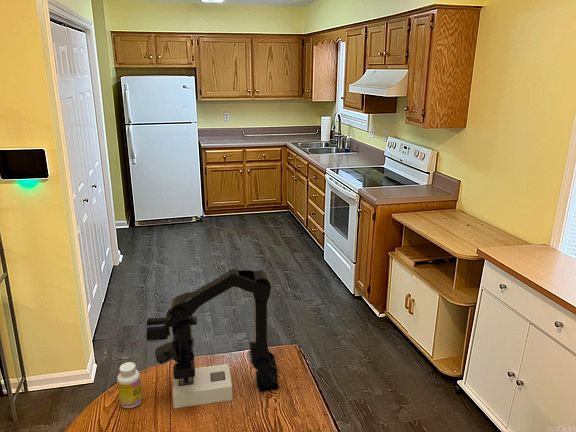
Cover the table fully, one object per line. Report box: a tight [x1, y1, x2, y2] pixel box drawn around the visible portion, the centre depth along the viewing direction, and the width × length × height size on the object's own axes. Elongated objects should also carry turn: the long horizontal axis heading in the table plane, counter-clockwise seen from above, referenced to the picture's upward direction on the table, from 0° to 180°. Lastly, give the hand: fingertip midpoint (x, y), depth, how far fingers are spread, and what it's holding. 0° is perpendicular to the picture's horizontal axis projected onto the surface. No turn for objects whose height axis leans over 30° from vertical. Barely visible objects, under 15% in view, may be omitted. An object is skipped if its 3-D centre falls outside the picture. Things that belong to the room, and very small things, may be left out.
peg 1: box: [179, 377, 193, 386], centre depth 144 cm, size 4×4×5 cm
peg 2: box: [211, 372, 225, 382], centre depth 146 cm, size 4×4×5 cm
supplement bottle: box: [116, 361, 143, 409], centre depth 140 cm, size 7×7×13 cm
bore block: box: [172, 363, 234, 409], centre depth 145 cm, size 18×12×5 cm, turn 102°
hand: (186, 379), depth 144 cm, fingers closed, pressing on peg 1
